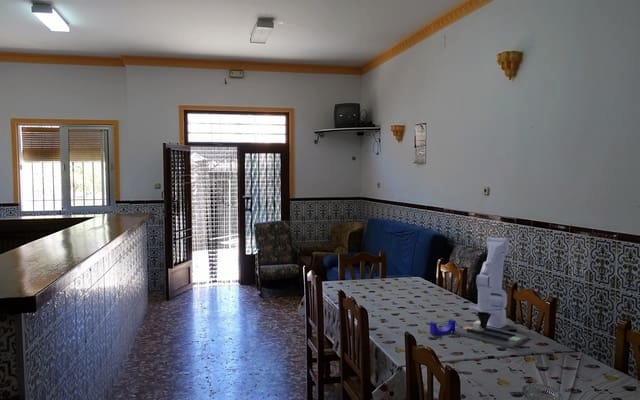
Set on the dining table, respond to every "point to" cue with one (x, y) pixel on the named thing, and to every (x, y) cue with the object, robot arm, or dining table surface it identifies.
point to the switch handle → (477, 326)
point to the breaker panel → (492, 335)
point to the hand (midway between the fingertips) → (484, 328)
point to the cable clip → (444, 330)
